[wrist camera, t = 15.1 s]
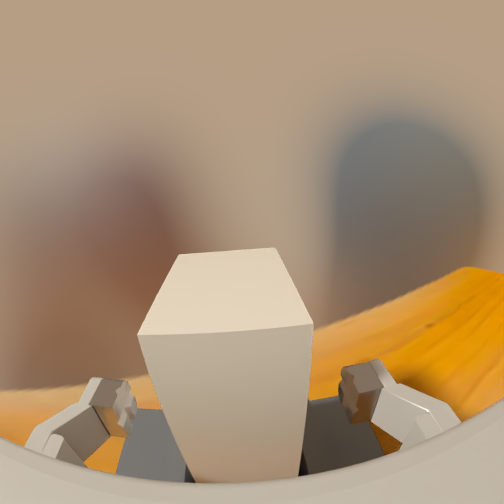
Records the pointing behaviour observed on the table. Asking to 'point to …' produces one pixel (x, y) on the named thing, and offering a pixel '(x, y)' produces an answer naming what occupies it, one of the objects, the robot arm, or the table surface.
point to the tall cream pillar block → (231, 364)
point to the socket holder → (312, 456)
